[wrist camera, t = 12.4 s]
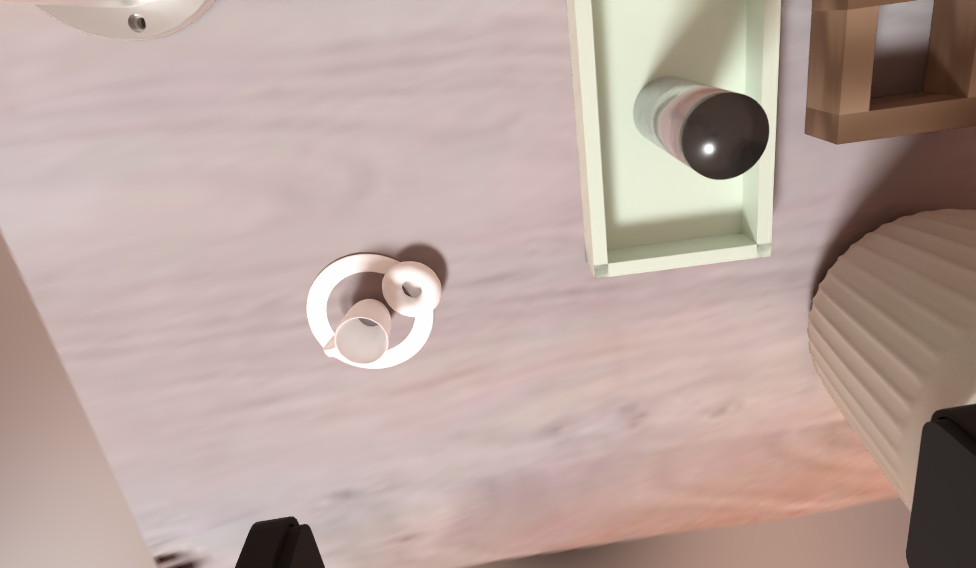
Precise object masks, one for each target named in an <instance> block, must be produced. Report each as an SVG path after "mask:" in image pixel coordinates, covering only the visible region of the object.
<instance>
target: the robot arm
mask: <svg viewBox="0 0 976 568" xmlns="http://www.w3.org/2000/svg"><path fill="white" fill-rule="evenodd" d="M214 1H215V0H0V3H18V4H34V5H35V6H37V7H38V8H39V9H40V10H41V11H43V12H44V13H46V14H48V15H49V16H51V17H53V18H54V19H56V20H58V21H59V22H61V23H62V24H64V25H66V26H68V27H71V28H73V29H76V30H78V31H81V32H83V33H86V34H88V35H92V36H96V37H101V38H106V39H111V40H132V41H134V40H146V39H156V38H159V37H162V36H165V35H169V34H172V33H175V32H178V31H179V30H181V29H183V28H184V27H186V26H188V25H189V24H191V23H193V22H195V21H196V20H197V19H198V18H199V17H200V16H201V15H202V14H203V13H204V12H206V11H207V10H208V9H209V8H210V7H211V6H212V4H213V3H214ZM143 18H144V20H145V22H146V28H144V27H143V26H142V24H141V20H142V19H143ZM906 558H907V563H908V565H909V568H976V403H975V404H969V405H963V406H957V407H951V408H945V409H940V410H937V411H935V412H934V413H933V415H932V417H931V421H929V422H926V423H925V424H924V425H923V429H922V435H921V442H920V450H919V457H918V465H917V473H916V480H915V488H914V496H913V503H912V511H911V519H910V527H909V534H908V542H907V549H906ZM235 568H325V566H324V564H323V561H322V558H321V555H320V553H319V550H318V547H317V544H316V542H315V539H314V536H313V534H312V531H311V529H310V527H309V526H308V525H307V524H303V525H299V523H298V521H297V519H295V518H294V517H285V518H278V519H272V520H266V521H260V522H256V523H255V524H253V525H252V527H251V529H250V531H249V533H248V536H247V538H246V541H245V544H244V546H243V549H242V551H241V554H240V556H239V559H238V561H237V564H236V566H235Z"/></svg>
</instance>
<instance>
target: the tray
mask: <svg viewBox="0 0 976 568" xmlns="http://www.w3.org/2000/svg"><path fill="white" fill-rule="evenodd" d="M566 5H567V18H568V31H569V44H570V57H571V70H572V83H573V96H574V109H575V122H576V135H577V148H578V161H579V174H580V187H581V200H582V213H583V226H584V239H585V252H586V261H587V263H588V265H589V268H590V270H591V272H592V274H593V276H594V278H603V277H611V276H619V275H626V274H634V273H642V272H650V271H658V270H665V269H673V268H681V267H689V266H696V265H704V264H712V263H720V262H727V261H735V260H743V259H751V258H759V257H766V256H771V236H772V212H773V187H774V163H775V139H776V115H777V90H778V66H779V42H780V18H781V0H566ZM664 76H674V77H679V78H682V79H686V80H690V81H694V82H698V83H702V84H706V85H709V86H713V87H717V88H721V89H725V90H729V91H733V92H736V93H740V94H744V95H747V96H749V97H751V98H753V99H754V100H756V101H757V102H758V103H759V104H760V105H761V106H762V108H763V109H764V111H765V113H766V115H767V118H768V122H769V139H768V143H767V146H766V149H765V151H764V153H763V154H762V156H761V157H760V159H759V160H758V161H757V163H756V164H755V165H754V166H753V167H752V168H750V169H749V170H748V171H746V172H745V173H743V174H741V175H739V176H737V177H734V178H731V179H726V180H714V179H710V178H707V177H704V176H702V175H700V174H699V173H697V172H696V171H694V170H693V169H691V168H690V167H688V166H687V165H685V164H684V163H682V162H681V161H679V160H678V159H676V158H675V157H673V156H671V155H670V154H668V153H667V152H665V151H664V150H662V149H661V148H659V147H658V146H656V145H655V144H653V143H652V142H650V141H649V140H647V139H646V138H644V137H643V136H642V135H641V134H640V133H639V131H638V130H637V128H636V126H635V123H634V119H633V108H634V103H635V100H636V98H637V96H638V94H639V93H640V91H641V90H642V89H643V88H644V87H645V86H646V85H647V84H648V83H650V82H651V81H653V80H655V79H657V78H660V77H664Z"/></svg>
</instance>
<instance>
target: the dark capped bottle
mask: <svg viewBox="0 0 976 568" xmlns="http://www.w3.org/2000/svg"><path fill="white" fill-rule="evenodd" d="M633 119H634V123H635V126H636V128H637V130H638V131H639V133H640V134H641V135H642V136H643V137H644V138H646V139H647V140H649V141H650V142H652V143H653V144H655V145H656V146H658V147H659V148H661V149H662V150H664V151H665V152H667V153H668V154H670V155H671V156H673V157H675V158H676V159H678V160H679V161H681V162H682V163H684V164H685V165H687V166H688V167H690V168H691V169H693V170H694V171H696V172H697V173H699V174H700V175H702V176H704V177H707V178H710V179H714V180H726V179H731V178H734V177H737V176H739V175H741V174H743V173H745V172H746V171H748V170H749V169H750V168H752V167H753V166H754V165H755V164H756V163H757V161H758V160H759V159H760V157H761V156H762V154H763V153H764V151H765V149H766V146H767V143H768V139H769V122H768V118H767V115H766V113H765V111H764V109H763V108H762V106H761V105H760V104H759V103H758V102H757V101H756V100H754V99H753V98H751V97H749V96H747V95H744V94H740V93H736V92H733V91H729V90H725V89H721V88H717V87H713V86H709V85H706V84H702V83H698V82H694V81H690V80H686V79H682V78H679V77H674V76H664V77H660V78H657V79H655V80H653V81H651V82H650V83H648V84H647V85H646V86H645V87H644V88H643V89H642V90H641V91H640V93H639V94H638V96H637V98H636V100H635V103H634V108H633Z"/></svg>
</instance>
